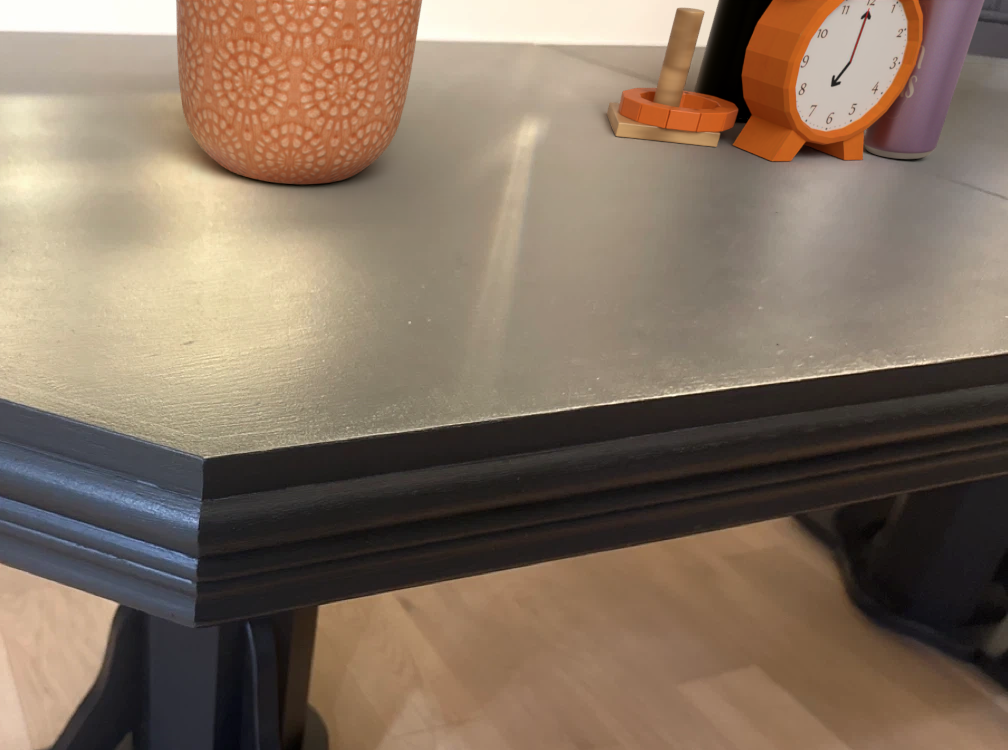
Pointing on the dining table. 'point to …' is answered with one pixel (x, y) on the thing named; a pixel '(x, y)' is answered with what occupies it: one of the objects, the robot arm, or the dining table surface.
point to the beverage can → (927, 82)
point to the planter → (295, 83)
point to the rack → (670, 86)
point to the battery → (729, 51)
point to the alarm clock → (825, 73)
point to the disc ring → (679, 111)
